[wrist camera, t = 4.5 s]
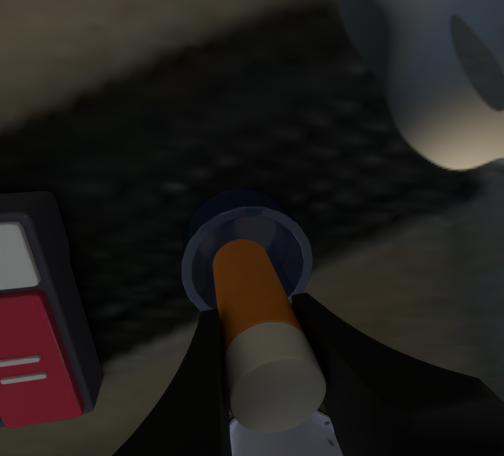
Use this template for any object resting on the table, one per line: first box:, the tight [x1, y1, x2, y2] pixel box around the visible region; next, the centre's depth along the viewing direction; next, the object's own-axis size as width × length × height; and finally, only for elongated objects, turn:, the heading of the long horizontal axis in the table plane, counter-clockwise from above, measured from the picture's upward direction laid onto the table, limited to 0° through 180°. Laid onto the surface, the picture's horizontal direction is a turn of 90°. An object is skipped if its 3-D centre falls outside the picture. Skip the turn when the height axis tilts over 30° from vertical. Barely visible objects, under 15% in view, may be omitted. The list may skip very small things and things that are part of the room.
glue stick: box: [213, 239, 326, 433], centre depth 14 cm, size 3×3×8 cm
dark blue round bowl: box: [181, 188, 313, 312], centre depth 21 cm, size 8×8×4 cm
